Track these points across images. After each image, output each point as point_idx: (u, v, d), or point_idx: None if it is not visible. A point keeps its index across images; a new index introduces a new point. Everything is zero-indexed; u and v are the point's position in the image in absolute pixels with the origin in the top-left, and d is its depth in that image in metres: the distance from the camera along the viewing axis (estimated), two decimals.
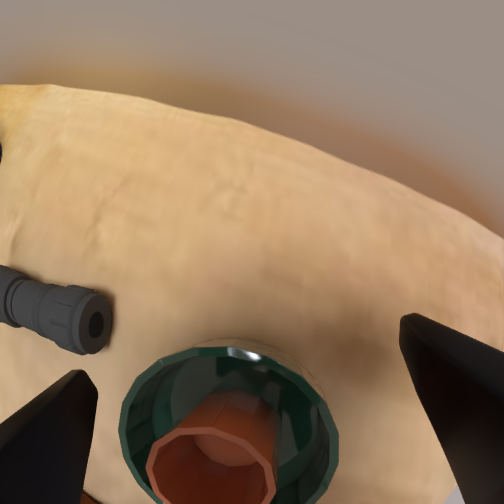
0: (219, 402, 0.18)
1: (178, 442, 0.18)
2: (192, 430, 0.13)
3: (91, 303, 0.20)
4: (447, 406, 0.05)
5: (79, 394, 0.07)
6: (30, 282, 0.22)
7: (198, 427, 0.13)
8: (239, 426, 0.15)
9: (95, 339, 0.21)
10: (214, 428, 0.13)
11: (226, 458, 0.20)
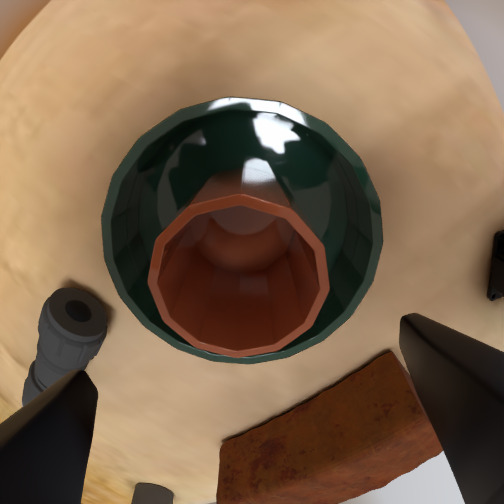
0: None
1: (212, 291, 0.17)
2: (153, 264, 0.11)
3: (53, 305, 0.18)
4: (447, 406, 0.05)
5: (79, 394, 0.07)
6: None
7: (152, 255, 0.11)
8: (185, 206, 0.12)
9: (91, 319, 0.20)
10: (159, 237, 0.11)
11: (272, 250, 0.19)
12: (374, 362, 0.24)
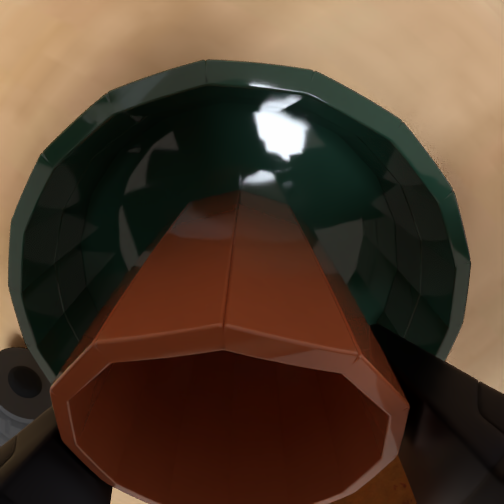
0: None
1: (190, 394, 0.10)
2: (60, 424, 0.04)
3: None
4: None
5: None
6: None
7: (55, 409, 0.04)
8: (107, 310, 0.05)
9: (42, 392, 0.13)
10: (53, 386, 0.04)
11: None
12: None
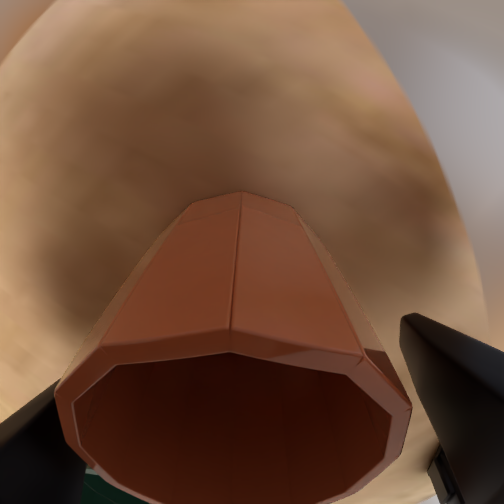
0: None
1: (192, 395, 0.10)
2: (64, 425, 0.04)
3: None
4: (447, 406, 0.05)
5: None
6: None
7: (59, 411, 0.04)
8: (112, 312, 0.05)
9: None
10: (58, 388, 0.04)
11: None
12: None
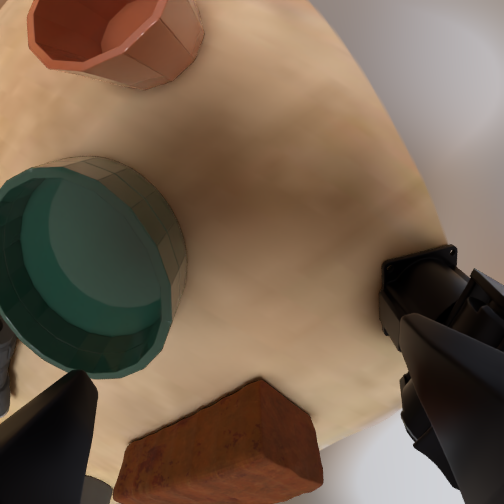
0: None
1: None
2: None
3: None
4: (447, 406, 0.05)
5: (79, 394, 0.07)
6: None
7: None
8: None
9: (2, 330, 0.20)
10: None
11: None
12: (243, 388, 0.24)
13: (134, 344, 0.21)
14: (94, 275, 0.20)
